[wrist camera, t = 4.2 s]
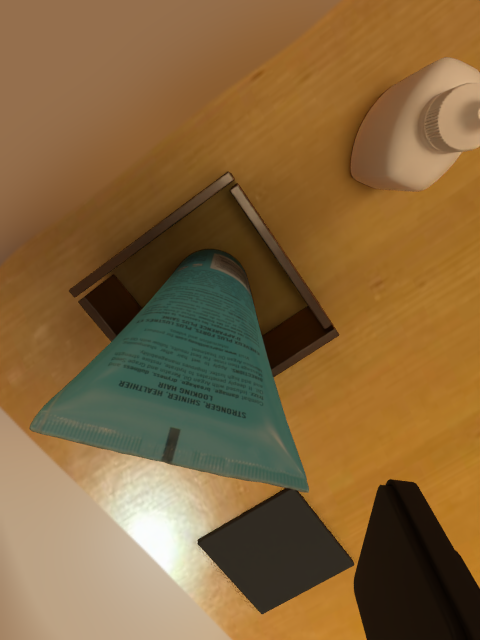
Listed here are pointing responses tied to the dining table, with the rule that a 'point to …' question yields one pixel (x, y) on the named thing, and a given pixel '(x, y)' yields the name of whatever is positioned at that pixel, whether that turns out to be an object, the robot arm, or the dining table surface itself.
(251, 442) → the tube
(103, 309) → the tube holder
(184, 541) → the dining table surface
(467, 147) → the eye dropper bottle
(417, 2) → the dining table surface
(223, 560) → the mat
